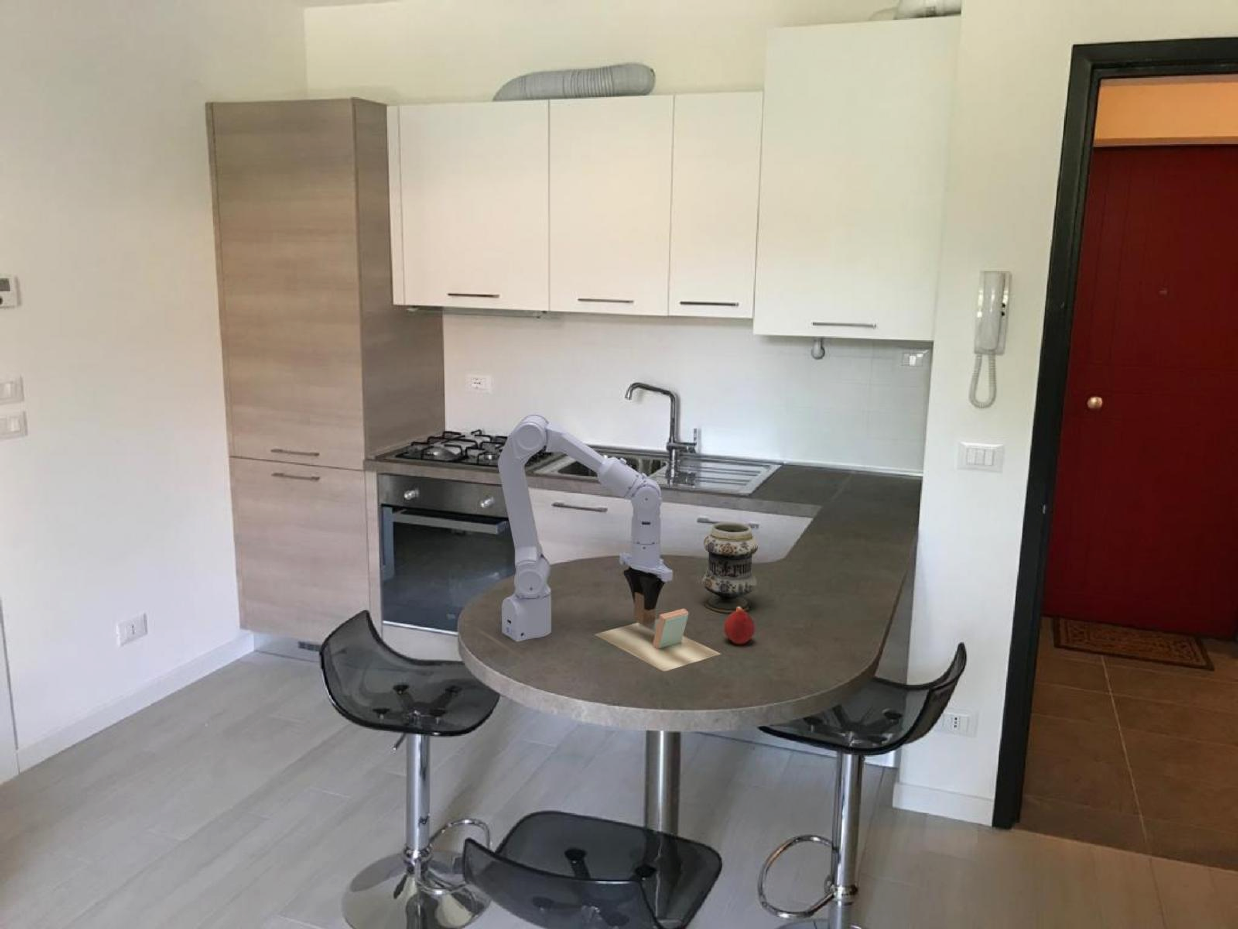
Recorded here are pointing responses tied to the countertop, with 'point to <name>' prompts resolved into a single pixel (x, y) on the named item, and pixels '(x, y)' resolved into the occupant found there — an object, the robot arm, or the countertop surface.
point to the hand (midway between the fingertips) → (644, 606)
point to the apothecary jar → (729, 566)
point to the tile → (670, 628)
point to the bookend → (644, 613)
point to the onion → (739, 626)
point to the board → (663, 658)
